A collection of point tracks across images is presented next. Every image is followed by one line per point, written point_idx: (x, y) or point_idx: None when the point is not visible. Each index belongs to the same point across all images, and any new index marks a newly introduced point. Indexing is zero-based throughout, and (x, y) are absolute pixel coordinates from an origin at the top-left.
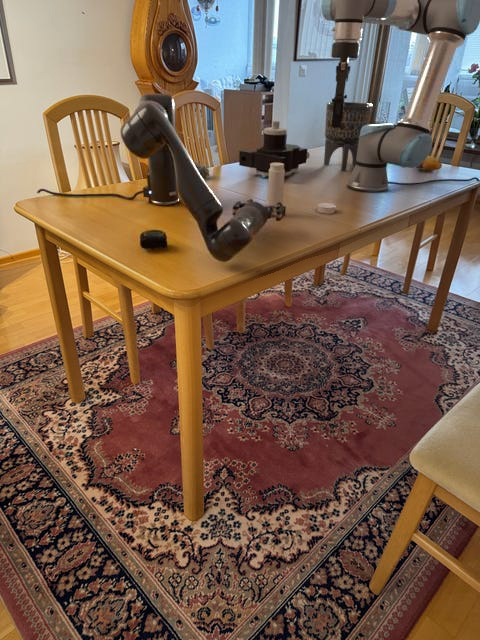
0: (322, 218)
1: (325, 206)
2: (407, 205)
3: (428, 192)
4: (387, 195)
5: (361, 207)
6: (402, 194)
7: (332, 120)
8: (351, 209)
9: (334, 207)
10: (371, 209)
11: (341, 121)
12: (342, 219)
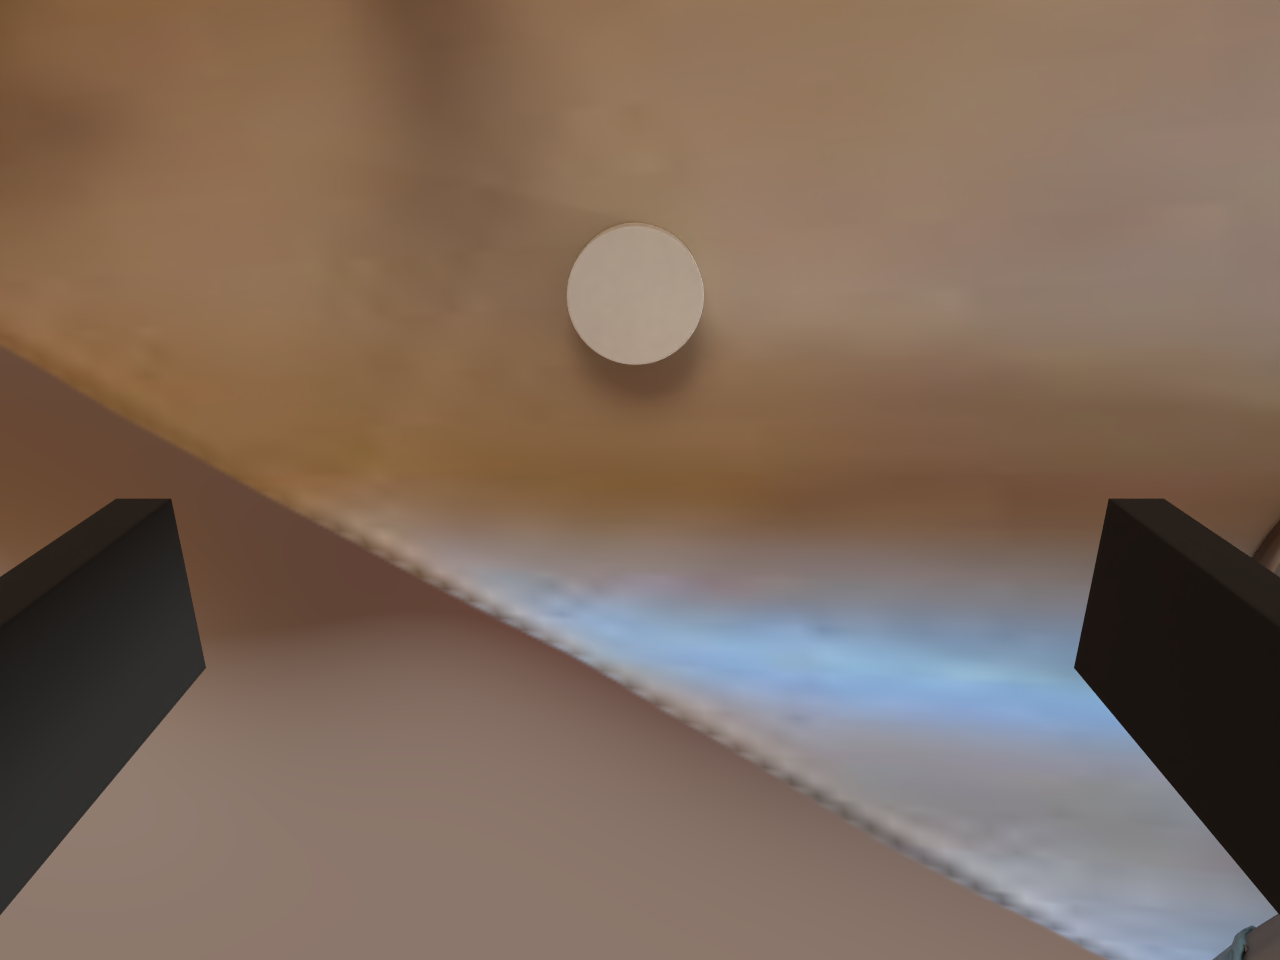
0: (444, 273)
1: (601, 289)
2: (916, 806)
3: None
4: None
5: (804, 538)
6: None
7: (33, 570)
8: (735, 472)
9: (611, 359)
10: (769, 599)
11: (1082, 670)
12: (470, 414)
